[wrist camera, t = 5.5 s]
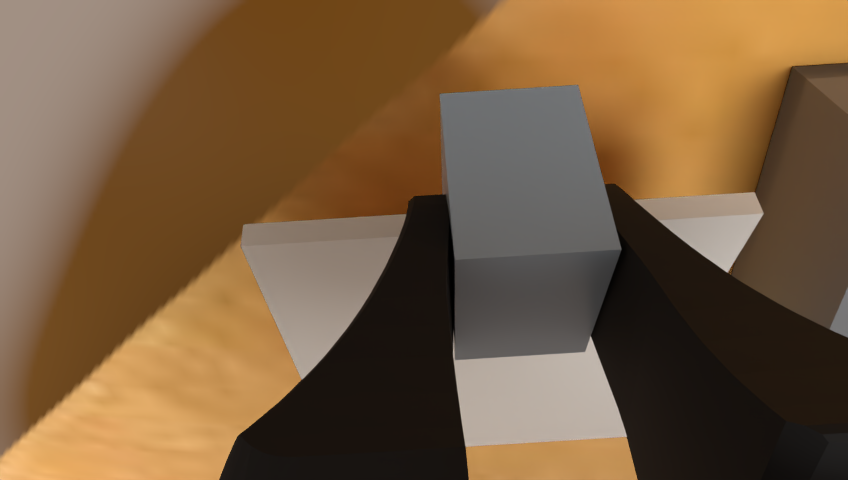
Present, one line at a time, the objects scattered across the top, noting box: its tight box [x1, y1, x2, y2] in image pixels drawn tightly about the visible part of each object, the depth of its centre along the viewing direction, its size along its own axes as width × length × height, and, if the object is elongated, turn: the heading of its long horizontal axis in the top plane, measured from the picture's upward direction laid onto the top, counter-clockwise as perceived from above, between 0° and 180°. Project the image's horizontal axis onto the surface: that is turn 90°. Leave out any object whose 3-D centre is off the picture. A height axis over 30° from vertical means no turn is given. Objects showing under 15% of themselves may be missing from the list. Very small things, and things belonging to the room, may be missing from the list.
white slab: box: [241, 85, 764, 447], centre depth 19 cm, size 18×11×4 cm, turn 3°
